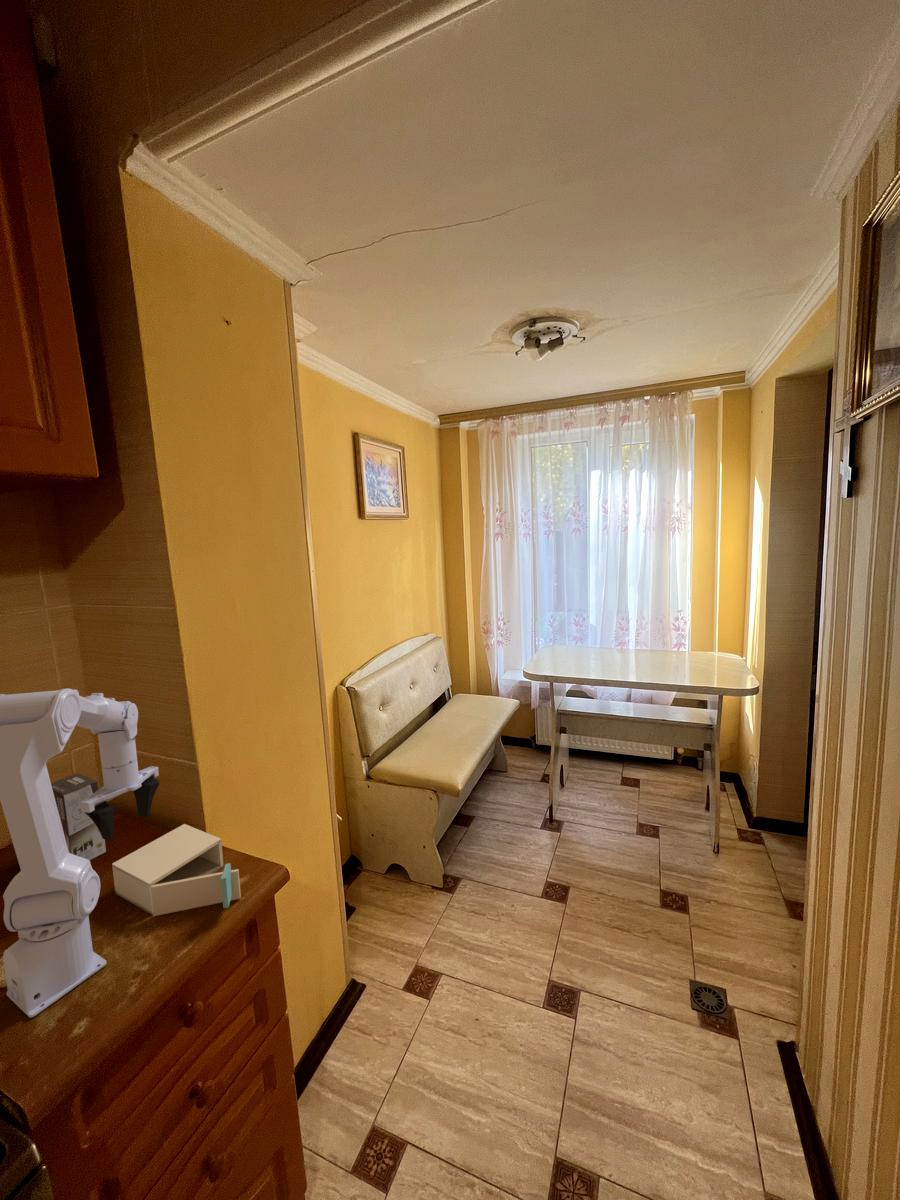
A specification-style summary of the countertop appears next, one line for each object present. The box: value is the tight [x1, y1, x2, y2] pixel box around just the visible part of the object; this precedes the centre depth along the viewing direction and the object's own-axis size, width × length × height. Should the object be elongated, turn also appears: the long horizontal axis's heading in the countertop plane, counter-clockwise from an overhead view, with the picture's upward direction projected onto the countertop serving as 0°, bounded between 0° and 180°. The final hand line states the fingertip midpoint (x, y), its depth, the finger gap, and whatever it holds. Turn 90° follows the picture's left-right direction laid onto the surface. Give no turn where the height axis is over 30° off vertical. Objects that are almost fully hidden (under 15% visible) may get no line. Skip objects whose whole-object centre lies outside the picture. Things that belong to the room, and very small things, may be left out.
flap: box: [151, 862, 242, 917], centre depth 81 cm, size 14×5×7 cm, turn 105°
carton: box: [111, 823, 225, 916], centre depth 90 cm, size 14×12×6 cm
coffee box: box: [51, 772, 107, 862], centre depth 98 cm, size 9×6×16 cm
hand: (126, 826), depth 93 cm, fingers open, 7 cm apart
